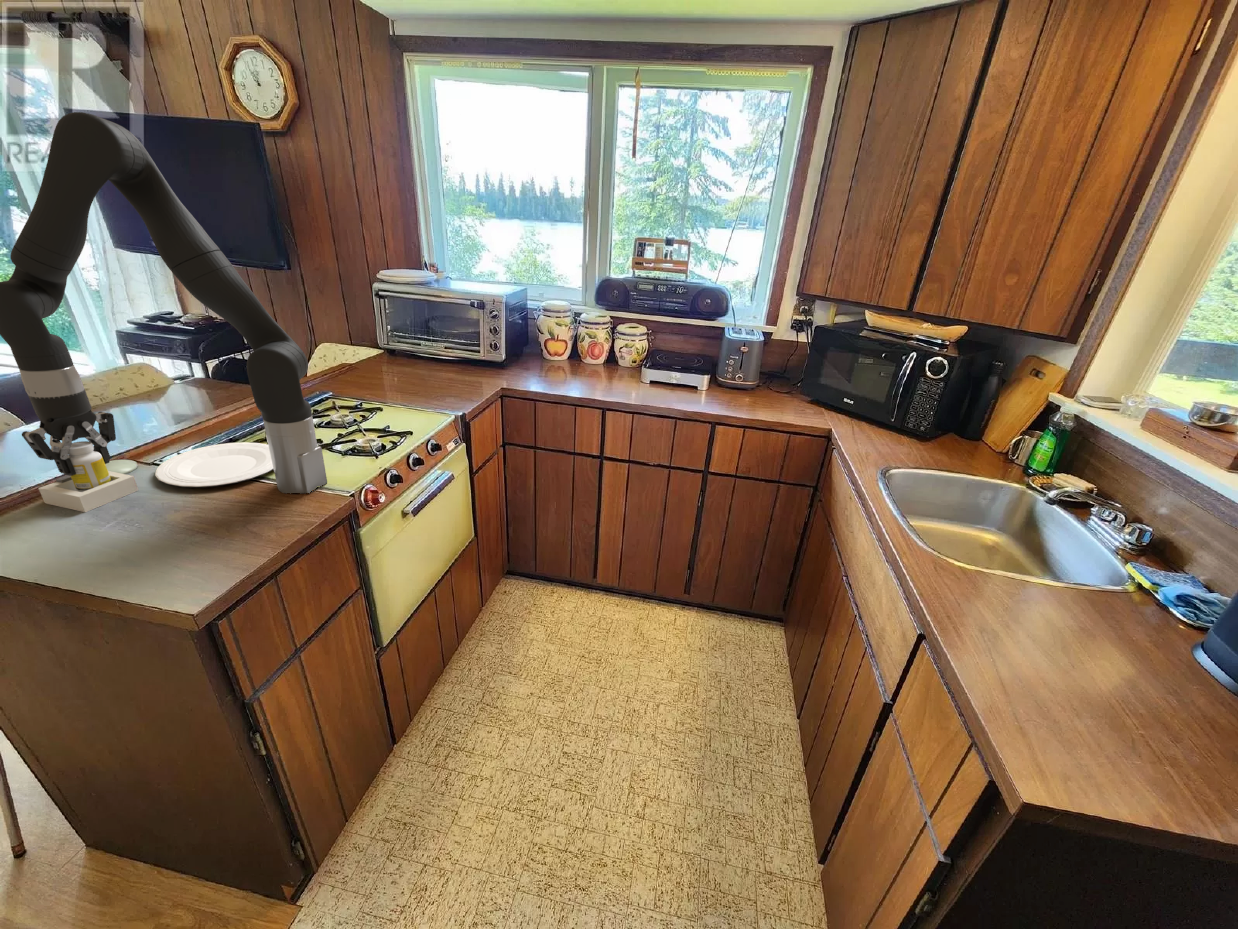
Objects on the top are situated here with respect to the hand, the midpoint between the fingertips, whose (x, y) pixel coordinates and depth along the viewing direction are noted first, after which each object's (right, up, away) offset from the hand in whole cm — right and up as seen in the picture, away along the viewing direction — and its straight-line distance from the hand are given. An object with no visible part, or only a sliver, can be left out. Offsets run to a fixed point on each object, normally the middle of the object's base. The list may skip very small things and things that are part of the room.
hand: (87, 468), depth 102 cm
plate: (+14, -1, +19) cm, 23 cm away
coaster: (-8, -1, +12) cm, 15 cm away
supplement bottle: (0, -4, +2) cm, 5 cm away
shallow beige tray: (-1, -6, +2) cm, 6 cm away
